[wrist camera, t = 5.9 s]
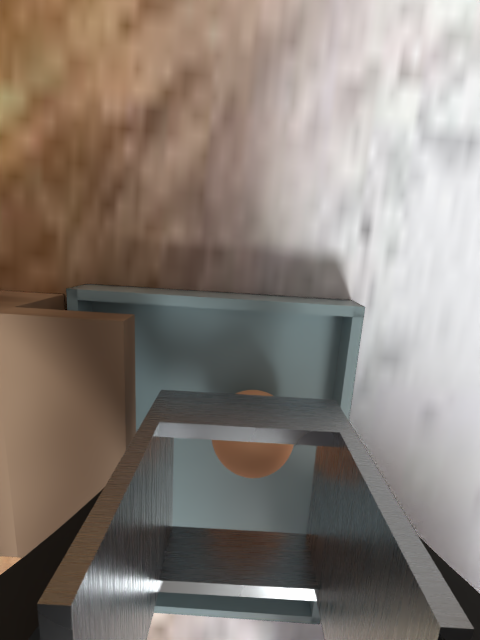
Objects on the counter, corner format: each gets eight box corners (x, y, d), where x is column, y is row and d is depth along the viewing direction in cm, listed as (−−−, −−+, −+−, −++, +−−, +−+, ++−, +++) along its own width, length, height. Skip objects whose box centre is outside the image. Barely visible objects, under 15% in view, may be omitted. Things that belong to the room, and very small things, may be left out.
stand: (-50, 472, 16) (-147, 545, 12) (-78, 285, 14) (-206, 300, 10) (157, 486, 16) (127, 565, 12) (158, 300, 14) (123, 320, 10)
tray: (99, 574, 17) (84, 607, 15) (86, 283, 14) (66, 288, 12) (312, 589, 17) (319, 624, 15) (351, 300, 14) (365, 306, 12)
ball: (195, 461, 13) (242, 512, 11) (196, 387, 13) (247, 424, 10) (256, 437, 15) (309, 476, 13) (260, 372, 15) (316, 399, 12)
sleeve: (160, 535, 11) (63, 873, 5) (161, 389, 10) (36, 604, 4) (317, 544, 11) (402, 891, 5) (336, 399, 10) (473, 629, 4)
